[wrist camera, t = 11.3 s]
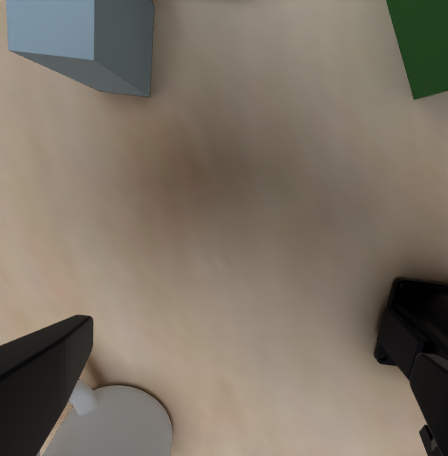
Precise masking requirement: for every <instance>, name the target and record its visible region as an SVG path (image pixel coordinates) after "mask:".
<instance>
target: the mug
mask: <svg viewBox="0 0 448 456" xmlns="http://www.w3.org/2000/svg"><path fill="white" fill-rule="evenodd" d="M68 401H69V402H70V403H71V404H72V405H73V407H72V409H71V410H70V411H69V413H68V414H67V416H66V417H65V419H64V421H63V422H62V424H61V425H60V427H59V429H58V430H57V432H56V434H55V435H54V437H53V439H52V440H51V442H50V443H49V445H48V447H47V448H46V450H45V452H44V453H43V455H42V456H170V452H171V445H172V426H171V422H170V419H169V416H168V414H167V412H166V410H165V409H164V408H163V406H162V405H161V404H160V403H159V402H158V401H157V400H156V399H154V398H153V397H152V396H151V395H149V394H147V393H146V392H144V391H142V390H139V389H136V388H133V387H129V386H119V385H113V386H105V387H101V388H98V389H95V390H92V389H91V388H90V387H89V386H88V385H87V384H86V383H84V382H83V381H81V380H79V379H78V381H77V383H76V386H75V388H74V390H73V392H72V394H71V396H70V398H69V400H68ZM37 456H40V451H39V452H38V454H37Z"/></svg>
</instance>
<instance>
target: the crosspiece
mask: <svg viewBox="0 0 448 456" xmlns="http://www.w3.org/2000/svg"><path fill="white" fill-rule="evenodd" d="M6 10H7V29H8V49H9V51H12V52H14V53H16V54H18V55H20V56H23V57H25V58H27V59H29V60H31V61H34V62H36V63H38V64H40V65H43V66H45V67H47V68H49V69H51V70H54V71H56V72H58V73H60V74H63V75H65V76H67V77H69V78H71V79H74V80H76V81H78V82H80V83H82V84H85V85H87V86H89V87H91V88H94V89H96V90H98V91H101V92H109V93H118V94H126V95H135V96H144V97H150V84H151V64H152V44H153V24H154V5H153V3H152V1H151V0H6Z"/></svg>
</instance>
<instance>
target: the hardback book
mask: <svg viewBox="0 0 448 456" xmlns="http://www.w3.org/2000/svg"><path fill="white" fill-rule="evenodd" d="M386 1H387V5H388V9H389V12H390V16H391V19H392V23H393V26H394V30H395V34H396V37H397V41H398V44H399V48H400V51H401V55H402V59H403V62H404V66H405V69H406V73H407V76H408V80H409V84H410V87H411V91H412V94H413V98H414V100H415V99H418V98H422V97H426V96H430V95H433V94H437V93H441V92H444V91H448V0H386Z"/></svg>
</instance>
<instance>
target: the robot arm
mask: <svg viewBox="0 0 448 456" xmlns="http://www.w3.org/2000/svg"><path fill="white" fill-rule="evenodd" d="M403 283H404V286H403V287H402V288H400V285H401V284H403ZM377 340H378V342H377V346H376V350H375V354H374V357H375V359H376V360H377V361H378V362H379V363H380V364H385V365H394V366H398V367H399V368H400V370H401V371H402V372H403V374H404V375H405V376H406V377H407V379H408V380H409V381H410V386H411V389H412V391H413V393H414V396H415V398H416V400H417V402H418V405H419V407H420V409H421V411H422V413H423V416H424V418H425V420H426V422H427V425H424V426H423V427H422V429H421V430H420V431H419V434H420V436H421V439H422V442H423V444H424V447H425V450H426V452H427V455H428V456H448V283H445V282H436V281H428V280H419V279H410V278H398V279H396V280H395V281H394V283H393V286H392V290H391V293H390V297H389V301H388V305H387V307H386V308H385V310H384V314H383V317H382V321H381V325H380V329H379V333H378V336H377ZM92 347H93V318H92V317H91V316H86V315H75V316H72V317H70V318H67V319H65V320H62V321H60V322H58V323H55V324H53V325H50V326H48V327H45V328H43V329H40V330H38V331H35V332H33V333H30V334H28V335H25V336H23V337H21V338H18V339H16V340H13V341H11V342H8V343H6V344H3V345H1V346H0V456H37V454H38V452H39V451H40V449H41V447H42V446H43V444H44V442H45V440H46V439H47V437H48V435H49V434H50V432H51V430H52V429H53V427H54V425H55V424H56V422H57V420H58V419H59V417H60V415H61V413H62V412H63V410H64V408H65V406H66V405H67V403H68V400H69V398H70V396H71V394H72V392H73V390H74V388H75V386H76V383H77V381H78V379H79V377H80V375H81V373H82V370H83V368H84V366H85V364H86V362H87V360H88V357H89V355H90V353H91V350H92ZM382 355H385V356H384V357H382V358H380V357H381V356H382Z"/></svg>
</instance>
